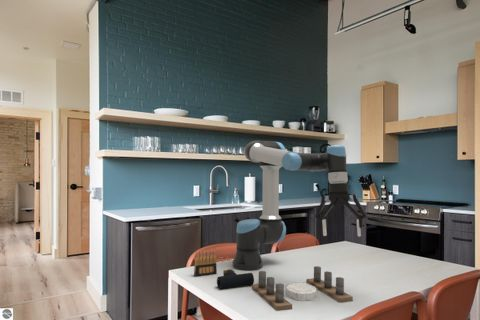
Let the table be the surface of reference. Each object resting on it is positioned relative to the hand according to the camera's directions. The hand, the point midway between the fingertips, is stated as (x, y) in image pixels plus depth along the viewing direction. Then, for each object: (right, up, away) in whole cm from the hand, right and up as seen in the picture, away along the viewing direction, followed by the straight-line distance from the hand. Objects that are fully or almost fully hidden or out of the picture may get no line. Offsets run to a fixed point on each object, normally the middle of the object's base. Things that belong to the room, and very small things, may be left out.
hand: (341, 236), depth 139 cm
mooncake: (-17, -23, -2) cm, 29 cm away
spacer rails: (-17, -23, -1) cm, 29 cm away
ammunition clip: (-57, -23, +22) cm, 65 cm away
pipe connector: (-44, -23, +10) cm, 51 cm away
